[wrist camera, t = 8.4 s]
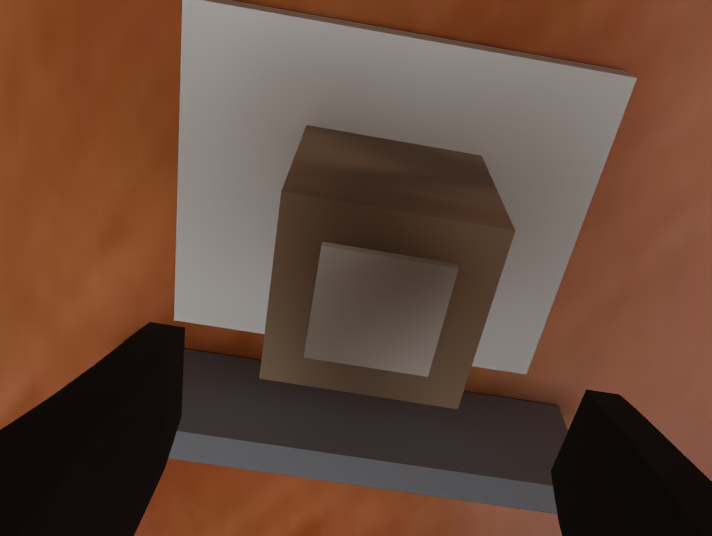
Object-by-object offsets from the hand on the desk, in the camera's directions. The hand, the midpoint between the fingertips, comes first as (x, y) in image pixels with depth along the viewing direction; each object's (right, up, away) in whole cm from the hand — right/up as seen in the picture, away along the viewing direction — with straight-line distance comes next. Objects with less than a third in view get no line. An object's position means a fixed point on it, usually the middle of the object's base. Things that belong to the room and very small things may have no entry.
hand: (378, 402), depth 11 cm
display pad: (0, +5, +8) cm, 9 cm away
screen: (-1, -2, +12) cm, 12 cm away
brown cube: (0, +4, +7) cm, 8 cm away
